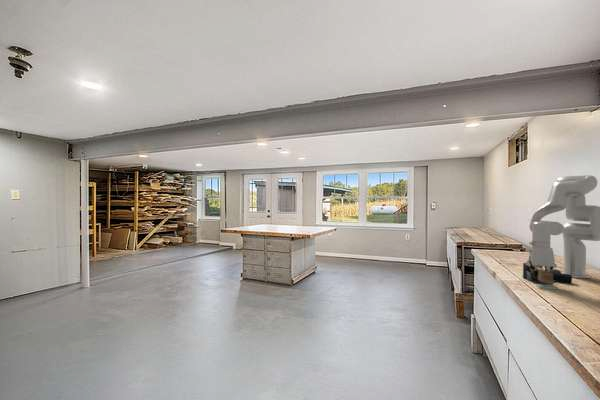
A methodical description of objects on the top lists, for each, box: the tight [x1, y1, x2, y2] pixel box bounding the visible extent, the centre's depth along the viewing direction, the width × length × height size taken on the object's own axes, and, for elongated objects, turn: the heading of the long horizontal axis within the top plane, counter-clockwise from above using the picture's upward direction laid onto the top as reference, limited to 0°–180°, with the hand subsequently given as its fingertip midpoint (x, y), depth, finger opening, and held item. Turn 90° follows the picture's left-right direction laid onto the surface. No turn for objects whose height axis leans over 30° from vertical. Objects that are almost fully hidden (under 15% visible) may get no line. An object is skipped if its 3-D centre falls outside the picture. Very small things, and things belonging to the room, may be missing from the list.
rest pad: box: [536, 283, 560, 291], centre depth 148 cm, size 4×8×1 cm, turn 72°
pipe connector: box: [550, 268, 573, 285], centre depth 163 cm, size 12×5×15 cm
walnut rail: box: [530, 267, 554, 285], centre depth 154 cm, size 16×4×5 cm, turn 162°
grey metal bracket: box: [522, 262, 544, 284], centre depth 160 cm, size 7×9×9 cm
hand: (540, 277), depth 154 cm, fingers closed on walnut rail, 4 cm apart
